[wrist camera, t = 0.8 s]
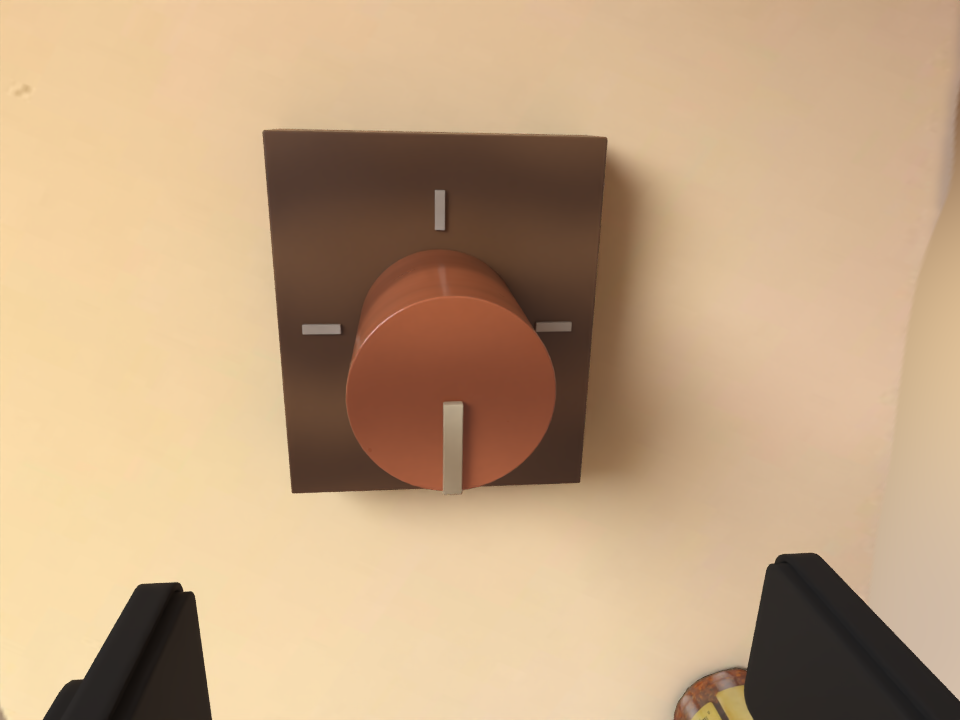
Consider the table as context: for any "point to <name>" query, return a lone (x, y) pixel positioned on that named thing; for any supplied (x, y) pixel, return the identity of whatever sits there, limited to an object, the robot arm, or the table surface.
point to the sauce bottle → (715, 698)
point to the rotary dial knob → (447, 374)
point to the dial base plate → (415, 228)
